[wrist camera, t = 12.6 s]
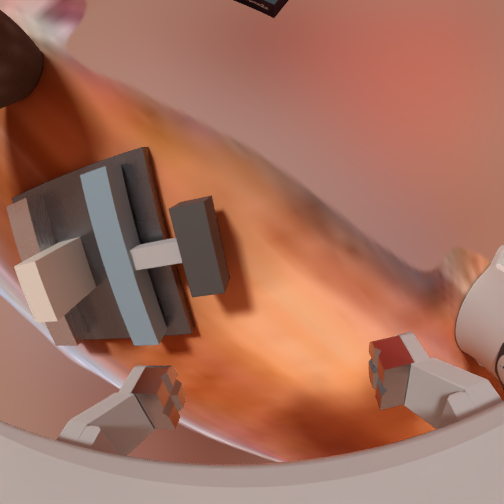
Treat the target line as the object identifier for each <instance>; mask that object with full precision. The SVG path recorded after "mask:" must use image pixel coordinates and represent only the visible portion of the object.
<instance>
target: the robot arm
mask: <svg viewBox="0 0 504 504" xmlns="http://www.w3.org/2000/svg"><path fill="white" fill-rule="evenodd" d="M455 334H456V341H457V344H458V346H459V348H460V349H461V350H462V351H463V352H465V353H467V354H468V355H470V356H471V357H473V358H474V359H475V360H476V362H477V363H478V364H479V365H480V366H481V367H485V368H486V369H487V370H488V371H489V372H490V373H491V374H492V375H493V376H494V377H495V378H496V379H497V380H498V381H499V382H500V383H501V385H502V387H503V389H504V245H501V246H500V247H499V249H498V250H497V252H496V254H495V256H494V258H493V260H492V262H491V264H490V266H489V267H488V268H487V270H486V271H485V272H484V273H483V274H482V275H481V276H480V277H479V278H478V279H477V281H476V282H475V283H474V285H473V286H472V287H471V289H470V290H469V292H468V294H467V296H466V297H465V299H464V301H463V303H462V306H461V308H460V311H459V314H458V317H457V322H456V330H455ZM369 353H370V355H371V360H370V361H369V377H370V381H371V384H372V387H373V388H374V389H376V399H377V402H378V405H379V408H380V410H383V409H387V408H392V407H396V406H400V405H404V406H406V407H407V408H408V409H410V410H411V411H412V412H414V413H415V414H417V415H418V416H419V417H421V418H422V419H423V420H425V421H426V422H428V423H429V424H430V425H432V426H433V427H435V428H436V429H437V430H434V431H431V432H428V433H425V434H422V435H419V436H415V437H412V438H409V439H405V440H402V441H398V442H395V443H391V444H387V445H383V446H379V447H375V448H370V449H366V450H361V451H356V452H351V453H346V454H340V455H335V456H328V457H322V458H315V459H307V460H298V461H288V462H276V463H260V464H197V463H181V462H180V463H179V462H169V461H159V460H150V459H143V458H135V457H129V456H127V455H128V454H129V453H130V452H131V451H133V450H134V449H135V448H136V447H137V446H138V445H139V444H140V443H141V442H142V441H143V440H144V439H145V438H146V437H148V436H149V435H150V434H151V433H152V432H153V431H154V429H176V427H177V424H178V421H179V419H180V415H179V413H178V411H180V410H181V409H182V408H183V407H184V404H185V391H184V387H183V385H182V383H180V382H179V381H178V380H177V379H176V378H177V376H178V373H177V371H176V369H175V367H173V366H136V367H134V368H133V369H132V371H131V373H130V374H129V376H128V378H127V379H126V381H125V383H124V384H123V386H122V388H121V389H120V391H119V393H114V394H112V395H111V396H109V397H107V398H106V399H104V400H102V401H101V402H99V403H98V404H96V405H94V406H93V407H91V408H89V409H88V410H86V411H84V412H83V413H81V414H79V415H77V416H76V417H74V418H72V419H71V420H69V421H68V423H67V425H66V426H65V428H64V429H63V431H62V432H61V434H60V435H59V437H58V438H57V440H54V439H51V438H47V437H44V436H41V435H38V434H35V433H32V432H29V431H26V430H24V429H21V428H18V427H16V426H13V425H10V424H8V423H5V422H3V421H0V504H504V401H503V400H502V399H501V397H500V396H499V395H498V393H497V392H496V390H495V389H494V388H493V386H492V385H491V383H490V382H489V381H488V379H485V378H483V377H480V376H478V375H475V374H473V373H470V372H468V371H465V370H463V369H460V368H458V367H456V366H453V365H451V364H448V363H446V362H443V361H441V360H439V359H436V358H434V357H433V358H429V356H428V355H427V353H426V352H425V350H424V349H423V347H422V346H421V344H420V343H419V341H418V340H417V338H416V337H415V335H414V334H413V333H412V332H408V333H404V334H400V335H397V336H394V337H390V338H386V339H381V340H377V341H372V342H370V344H369Z"/></svg>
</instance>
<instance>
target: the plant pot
mask: <svg viewBox="0 0 504 504" xmlns="http://www.w3.org/2000/svg"><path fill="white" fill-rule="evenodd" d="M42 68H43V56H42V53H41V51H40V50H39V49H38V47H37V46H36V45H35V43H34V42H33V41H32V40H31V38H30V37H29V36H28V35H27V34H26V33H25V32H24V31H23V30H22V29H21V28H20V27H19V26H18V25H17V24H16V23H15V22H14V21H13V20H12V19H11V18H10V17H9V16H7V15H6V14H5V13H4V12H2V11H1V10H0V108H3V107H6V106H8V105H10V104H13V103H15V102H17V101H20V100H22V99H24V98H25V97H27V96H28V95H29V94H30V93H31V92H32V90H33V89H34V87H35V86H36V84H37V82H38V80H39V78H40V75H41V72H42Z"/></svg>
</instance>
